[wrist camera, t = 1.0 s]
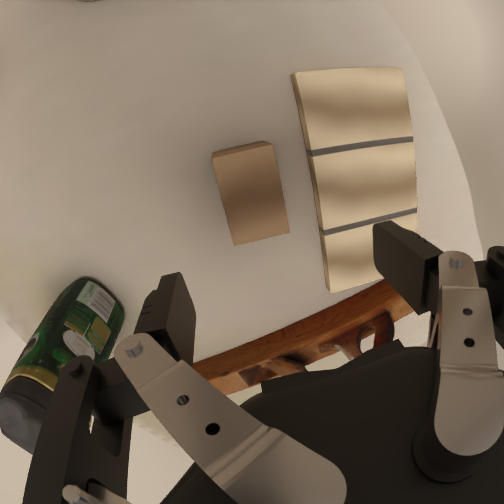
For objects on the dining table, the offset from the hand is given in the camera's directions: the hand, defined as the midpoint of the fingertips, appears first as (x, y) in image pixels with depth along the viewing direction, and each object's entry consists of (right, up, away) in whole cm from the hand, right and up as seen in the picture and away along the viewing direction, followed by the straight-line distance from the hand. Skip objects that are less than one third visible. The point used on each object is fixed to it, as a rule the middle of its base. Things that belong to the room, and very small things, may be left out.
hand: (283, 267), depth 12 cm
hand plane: (+2, -10, +23) cm, 25 cm away
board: (+10, +8, +15) cm, 20 cm away
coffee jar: (-20, -6, +18) cm, 28 cm away
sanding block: (-2, +7, +14) cm, 16 cm away
